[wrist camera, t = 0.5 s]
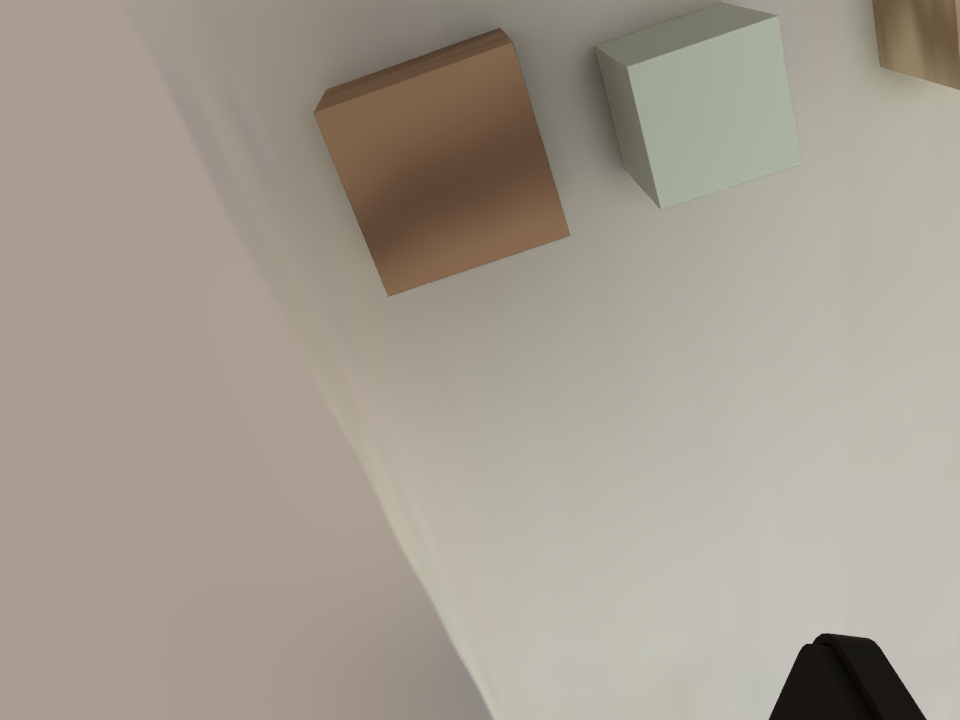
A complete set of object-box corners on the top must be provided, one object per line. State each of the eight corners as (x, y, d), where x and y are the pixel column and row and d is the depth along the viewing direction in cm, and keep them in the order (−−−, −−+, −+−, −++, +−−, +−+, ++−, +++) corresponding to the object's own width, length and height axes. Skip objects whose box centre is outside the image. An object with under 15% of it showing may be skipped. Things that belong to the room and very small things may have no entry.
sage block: (593, 45, 35) (626, 67, 29) (720, 2, 34) (778, 15, 29) (624, 168, 37) (661, 209, 31) (744, 129, 36) (801, 163, 31)
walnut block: (326, 89, 35) (313, 112, 30) (499, 27, 34) (512, 41, 30) (391, 252, 38) (388, 296, 33) (551, 198, 37) (570, 235, 33)
